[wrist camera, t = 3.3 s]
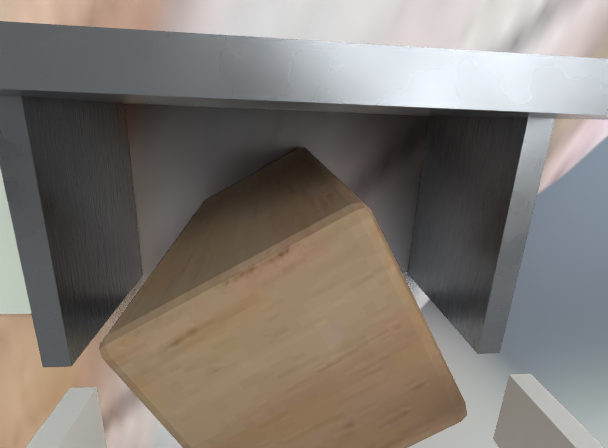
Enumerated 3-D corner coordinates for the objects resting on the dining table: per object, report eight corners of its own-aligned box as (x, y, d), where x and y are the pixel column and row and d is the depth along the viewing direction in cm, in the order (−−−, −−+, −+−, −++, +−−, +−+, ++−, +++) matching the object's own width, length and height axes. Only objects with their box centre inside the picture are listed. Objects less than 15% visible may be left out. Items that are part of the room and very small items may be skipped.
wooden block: (354, 241, 33) (476, 421, 14) (260, 291, 33) (249, 531, 14) (304, 144, 30) (369, 200, 11) (201, 201, 30) (86, 352, 11)
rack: (128, 305, 32) (-72, 579, 13) (101, 81, 27) (-313, 2, 8) (418, 300, 35) (595, 522, 16) (448, 97, 30) (775, 69, 10)
